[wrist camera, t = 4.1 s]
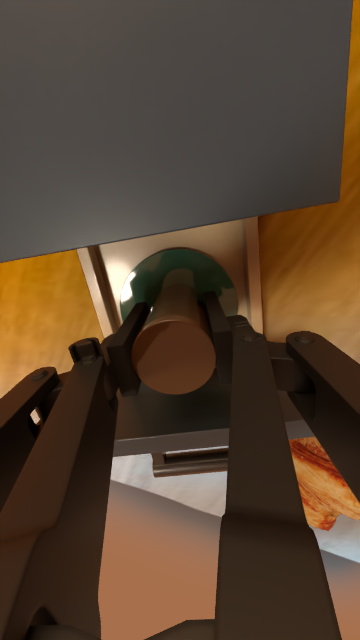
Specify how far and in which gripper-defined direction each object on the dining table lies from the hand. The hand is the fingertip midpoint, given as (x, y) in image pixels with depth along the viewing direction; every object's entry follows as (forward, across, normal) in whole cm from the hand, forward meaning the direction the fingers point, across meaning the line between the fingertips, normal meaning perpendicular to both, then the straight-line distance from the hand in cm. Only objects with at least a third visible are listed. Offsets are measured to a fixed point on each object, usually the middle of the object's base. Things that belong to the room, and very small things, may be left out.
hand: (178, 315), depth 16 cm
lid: (+2, 0, 0) cm, 2 cm away
